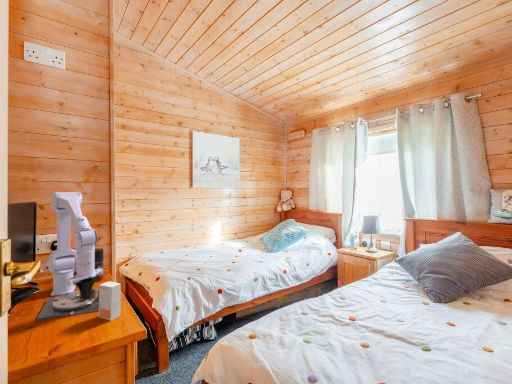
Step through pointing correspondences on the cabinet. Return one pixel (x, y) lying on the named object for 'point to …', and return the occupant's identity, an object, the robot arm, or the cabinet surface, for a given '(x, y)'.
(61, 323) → the cabinet surface
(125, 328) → the cabinet surface
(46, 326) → the cabinet surface
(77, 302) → the flat grey disc
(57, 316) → the base plate
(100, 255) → the deodorant
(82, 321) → the cabinet surface
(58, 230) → the robot arm
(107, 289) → the skincare box
